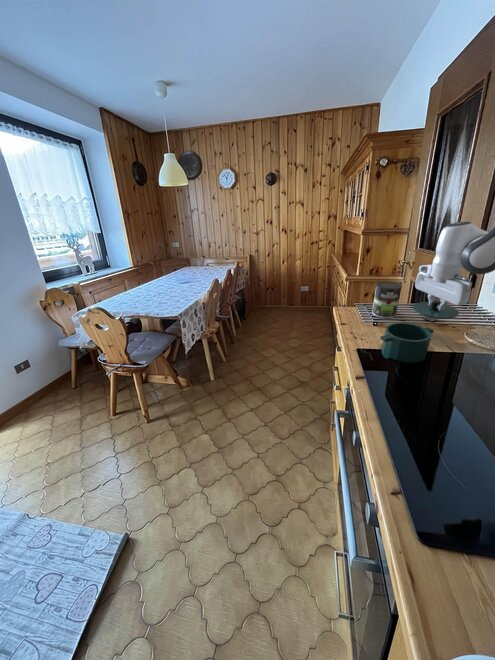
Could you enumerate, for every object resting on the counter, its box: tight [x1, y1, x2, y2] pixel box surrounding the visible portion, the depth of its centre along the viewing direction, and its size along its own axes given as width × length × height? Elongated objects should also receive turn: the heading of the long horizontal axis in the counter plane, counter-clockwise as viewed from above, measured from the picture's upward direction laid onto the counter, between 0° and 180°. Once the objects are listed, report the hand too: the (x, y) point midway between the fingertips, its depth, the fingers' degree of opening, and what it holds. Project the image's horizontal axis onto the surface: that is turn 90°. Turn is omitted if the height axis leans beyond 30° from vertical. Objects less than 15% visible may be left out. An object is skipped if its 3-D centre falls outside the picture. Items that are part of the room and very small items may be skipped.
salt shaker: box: [423, 296, 441, 322], centre depth 120 cm, size 6×6×13 cm
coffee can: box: [371, 280, 403, 319], centre depth 128 cm, size 10×10×14 cm
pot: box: [379, 322, 434, 363], centre depth 98 cm, size 14×19×10 cm
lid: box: [412, 300, 460, 320], centre depth 105 cm, size 15×15×4 cm
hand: (435, 307), depth 105 cm, fingers closed on lid, 2 cm apart
